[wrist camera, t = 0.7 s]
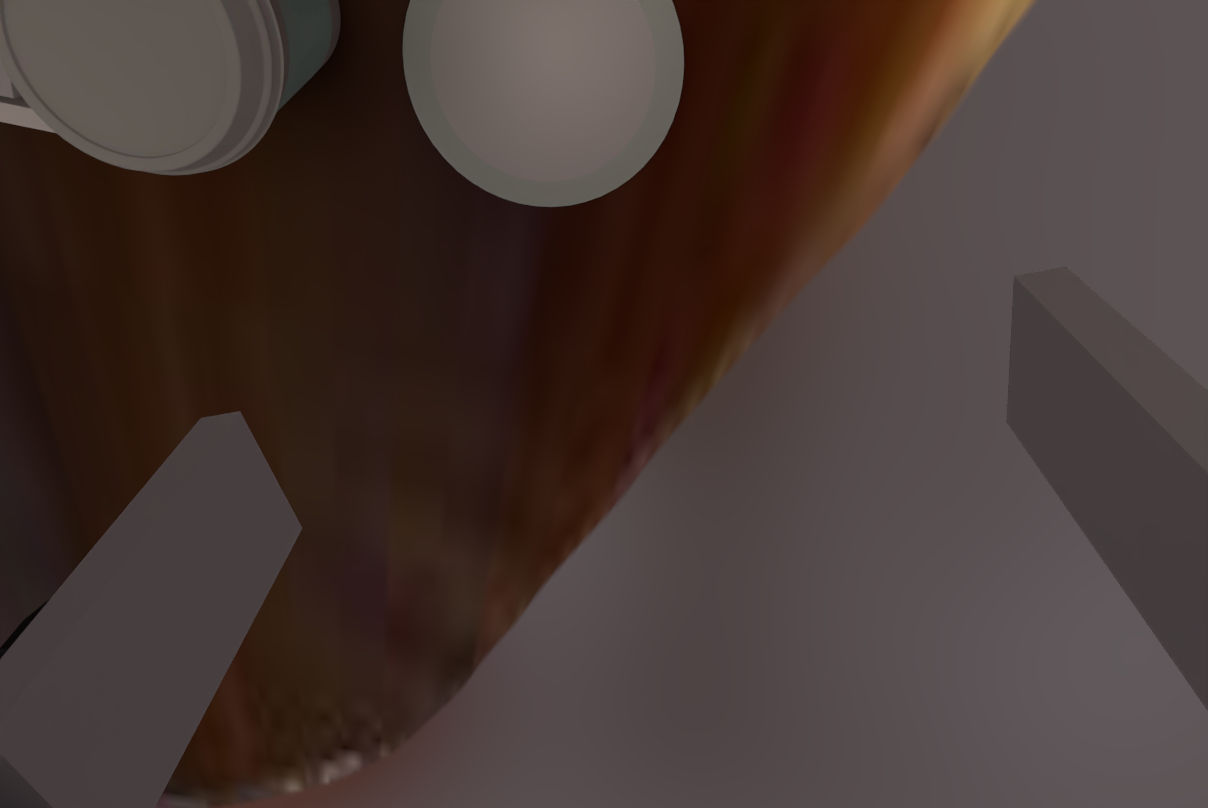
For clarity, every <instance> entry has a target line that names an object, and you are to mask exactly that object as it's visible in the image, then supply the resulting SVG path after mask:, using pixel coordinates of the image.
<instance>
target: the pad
mask: <svg viewBox="0 0 1208 808" xmlns="http://www.w3.org/2000/svg"><path fill="white" fill-rule="evenodd" d="M403 63H404V74H405V78H406V83H407V88H408V92H409V95H410V98H411V101H412V104H413V107H414V110H415V112H416V115H417V117H418V119H419V121H420V123H421V125H422V127H423V129H424V131H425V132H426V134H427V135H428V137H429V139H430V140H431V142H432V143H433V145H434V146H435V147H436V149H437V150H438V151H439V152H440V154H441V155H442V156H443V157H444V158H445V159H446V160H447V161H448V162H449V163H450V164H451V165H452V166H453V167H454V168H455V169H456V170H457V171H458V172H459V173H460V174H462V175H463V176H464V177H465V178H467V179H468V180H469V181H471V182H472V183H474V184H475V185H477V186H479V187H480V188H482V189H484V190H485V191H487V192H489V193H492V194H494V195H496V196H498V197H500V198H503V199H506V200H509V201H513V202H516V203H520V204H525V205H531V206H542V207H558V206H569V205H574V204H578V203H583V202H587V201H589V200H592V199H595V198H598V197H601V196H603V195H605V194H607V193H609V192H610V191H612V190H614V189H616V188H618V187H619V186H621V185H622V184H623V183H625V182H626V181H628V180H629V179H631V178H632V177H633V176H634V175H635V174H636V173H637V172H638V171H639V170H641V169H642V168H643V167H644V166H645V164H646V163H647V162H648V161H649V160H650V158H651V157H652V156H653V155H654V154H655V152H656V151H657V149H658V148H659V146H660V145H661V143H662V142H663V140H664V138H665V136H666V134H667V132H668V130H669V128H670V126H671V124H672V122H673V119H674V116H675V113H676V110H677V107H678V104H679V100H680V95H681V90H682V85H683V73H684V51H683V41H682V35H681V29H680V24H679V21H678V17H677V14H676V11H675V7H674V4H673V2H672V0H410V3H409V7H408V10H407V13H406V20H405V26H404V32H403Z"/></svg>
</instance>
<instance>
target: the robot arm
mask: <svg viewBox="0 0 1208 808" xmlns="http://www.w3.org/2000/svg"><path fill="white" fill-rule="evenodd" d="M1010 348H1011V349H1010V366H1009V385H1008V404H1007V423H1008V425H1009V426H1010V427H1011V429H1012V431H1013V432H1014V433H1015V435H1016V436H1017V438H1018V439H1019V441H1020V442H1021V443H1022V445H1023V446H1024V447H1025V449H1026V451H1027V452H1028V453H1029V455H1030V456H1031V458H1032V459H1033V461H1034V462H1035V463H1036V465H1037V466H1038V468H1039V469H1040V471H1041V472H1042V473H1043V475H1044V477H1045V478H1046V479H1047V481H1048V482H1049V484H1050V485H1051V487H1052V488H1053V489H1054V491H1055V492H1056V494H1057V495H1058V496H1059V498H1060V499H1061V501H1062V502H1063V504H1064V505H1065V507H1066V508H1067V509H1068V511H1069V512H1070V514H1071V515H1072V517H1073V518H1074V519H1075V521H1076V522H1077V524H1078V525H1079V527H1080V528H1081V530H1082V531H1083V532H1084V534H1085V535H1086V537H1087V538H1088V540H1089V541H1090V542H1091V544H1092V545H1093V547H1094V548H1095V550H1096V551H1097V553H1098V554H1099V555H1100V557H1101V558H1102V560H1103V561H1104V563H1105V564H1106V565H1107V567H1108V568H1109V570H1110V571H1111V573H1112V574H1113V576H1114V577H1115V578H1116V580H1117V581H1118V582H1119V584H1120V586H1121V587H1122V588H1123V590H1124V591H1125V593H1126V594H1127V596H1128V597H1129V598H1130V600H1131V601H1132V603H1133V604H1134V606H1135V607H1136V608H1137V610H1138V611H1139V613H1140V614H1141V615H1142V617H1143V619H1144V620H1145V621H1146V623H1147V624H1148V626H1149V627H1150V629H1151V630H1152V631H1153V633H1154V634H1155V636H1156V637H1157V639H1158V640H1159V641H1160V643H1161V644H1162V646H1163V647H1164V649H1165V650H1166V651H1167V653H1168V654H1169V656H1170V657H1171V659H1172V660H1173V662H1174V663H1175V665H1176V666H1177V667H1178V669H1179V670H1180V672H1181V673H1182V675H1183V676H1184V677H1185V679H1186V680H1187V682H1188V683H1189V685H1190V686H1191V687H1192V689H1193V690H1194V692H1195V693H1196V695H1197V696H1198V697H1199V699H1200V700H1201V702H1202V703H1203V705H1204V706H1205V708H1206V709H1207V710H1208V390H1207V389H1206V388H1204V387H1203V386H1202V385H1201V384H1200V383H1199V382H1198V381H1196V380H1195V379H1194V378H1193V377H1192V376H1191V375H1189V374H1188V373H1187V372H1186V371H1185V370H1184V369H1183V368H1182V367H1180V366H1179V365H1178V364H1177V363H1176V362H1175V361H1174V360H1172V359H1171V358H1170V357H1169V356H1168V355H1167V354H1166V353H1164V352H1163V351H1162V350H1161V349H1160V348H1159V347H1158V346H1156V345H1155V344H1154V343H1153V342H1152V341H1151V340H1149V339H1148V338H1147V337H1146V336H1145V335H1144V334H1143V333H1141V332H1140V331H1139V330H1138V329H1137V328H1136V327H1135V326H1133V325H1132V324H1131V323H1130V322H1129V321H1128V320H1127V319H1125V318H1124V317H1123V316H1122V315H1121V314H1120V313H1119V312H1117V311H1116V310H1115V309H1114V308H1113V307H1112V306H1111V305H1109V304H1108V303H1107V302H1106V301H1105V300H1103V298H1101V297H1100V296H1099V295H1098V294H1097V293H1096V292H1095V291H1093V290H1092V289H1091V288H1090V287H1089V286H1087V285H1086V284H1085V283H1084V282H1083V281H1082V280H1081V279H1080V278H1079V277H1077V276H1076V275H1075V274H1074V273H1073V272H1072V271H1070V270H1069V269H1068V268H1067V267H1063V268H1058V269H1052V270H1046V271H1041V272H1034V273H1029V274H1023V275H1017V276H1014V287H1013V307H1012V326H1011V346H1010ZM301 530H302V527H301V525H300V523H299V521H298V520H297V518H296V516H295V514H294V512H293V510H292V508H291V506H290V505H289V503H288V501H287V499H286V497H285V495H284V493H283V491H282V490H281V488H280V486H279V484H278V482H277V480H276V478H275V476H274V475H273V473H272V471H271V469H270V467H269V465H268V463H267V461H266V460H265V458H264V456H263V454H262V452H261V450H260V448H259V446H258V444H257V443H256V441H255V439H254V437H253V435H252V433H251V431H250V429H249V428H248V426H247V424H246V422H245V420H244V418H243V416H242V414H241V413H240V411H239V412H233V413H228V414H222V415H216V416H210V417H205V418H201V419H200V420H199V421H198V422H197V423H196V425H195V426H194V427H193V428H192V429H191V431H190V432H189V433H188V434H187V435H186V437H185V438H184V439H183V440H182V441H181V443H180V444H179V445H178V446H177V447H176V449H175V450H174V451H173V452H172V453H171V455H170V456H169V457H168V458H167V459H166V461H165V462H164V463H163V464H162V465H161V467H160V468H159V469H158V470H157V471H156V473H155V474H154V475H153V476H152V477H151V479H150V480H149V481H148V482H147V483H146V485H145V486H144V487H143V488H142V489H141V491H140V492H139V493H138V494H137V495H136V497H135V498H134V499H133V500H132V501H131V503H130V504H129V505H128V506H127V507H126V509H125V510H124V511H123V512H122V513H121V515H120V516H119V517H118V518H117V519H116V521H115V522H114V523H113V524H112V525H111V527H110V528H109V529H108V530H107V531H106V533H105V534H104V535H103V536H102V537H101V539H100V540H99V541H98V542H97V543H96V545H95V546H94V547H93V548H92V549H91V551H90V552H89V553H88V554H87V555H86V557H85V558H84V559H83V560H82V561H81V563H80V564H79V565H78V566H77V567H76V569H75V570H74V571H73V572H72V574H71V575H70V576H69V577H68V578H67V580H66V581H65V582H64V583H63V584H62V586H61V587H60V588H59V589H58V590H57V592H56V593H55V594H54V595H53V596H52V597H51V598H50V599H49V600H48V601H47V602H45V603H44V604H43V605H42V606H40V607H39V608H38V609H37V610H36V611H34V612H33V613H32V614H31V615H29V616H28V617H27V618H26V619H24V620H23V622H22V623H21V624H20V625H19V626H18V628H17V629H16V630H15V631H14V632H13V634H12V635H11V636H10V637H9V638H8V639H7V641H6V642H5V643H4V644H3V645H2V647H1V648H0V808H155V806H156V804H157V802H158V800H159V798H160V796H161V794H162V793H163V791H164V789H165V787H166V785H167V783H168V781H169V779H170V777H171V776H172V774H173V772H174V770H175V768H176V766H177V764H178V762H179V760H180V759H181V757H182V755H183V753H184V751H185V749H186V747H187V745H188V743H189V741H190V740H191V738H192V736H193V734H194V732H195V730H196V728H197V726H198V724H199V723H200V721H201V719H202V717H203V715H204V713H205V711H206V709H207V707H208V706H209V704H210V702H211V700H212V698H213V696H214V694H215V692H216V690H217V689H218V687H219V685H220V683H221V681H222V679H223V677H224V675H225V673H226V671H227V670H228V668H229V666H230V664H231V662H232V660H233V658H234V656H235V654H236V653H237V651H238V649H239V647H240V645H241V643H242V641H243V639H244V637H245V636H246V634H247V632H248V630H249V628H250V626H251V624H252V622H253V620H254V618H255V617H256V615H257V613H258V611H259V609H260V607H261V605H262V603H263V601H264V600H265V598H266V596H267V594H268V592H269V590H270V588H271V586H272V584H273V583H274V581H275V579H276V577H277V575H278V573H279V571H280V569H281V567H282V566H283V564H284V562H285V560H286V558H287V556H288V554H289V552H290V550H291V548H292V547H293V545H294V543H295V541H296V539H297V537H298V535H299V533H300V531H301Z"/></svg>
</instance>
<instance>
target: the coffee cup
mask: <svg viewBox="0 0 1208 808" xmlns="http://www.w3.org/2000/svg"><path fill="white" fill-rule="evenodd" d="M340 24H341V16H340V6H339V1H338V0H0V61H1V63H2V65H3V67H4V69H5V71H6V73H7V75H8V76H9V78H10V80H11V81H12V83H13V84H14V86H15V88H16V89H17V91H18V92H19V93H20V95H21V96H22V97H23V99H24V100H25V101H26V103H27V104H28V105H29V106H30V108H31V109H32V110H33V111H34V112H35V113H36V114H37V115H38V116H39V118H41V119H42V120H43V121H44V122H45V123H46V124H47V125H48V126H49V127H50V128H51V129H52V130H53V131H55V132H56V133H57V134H58V135H59V136H61V137H62V138H63V139H65V140H66V141H67V142H69V143H70V144H72V145H73V146H75V147H76V148H78V149H80V150H81V151H83V152H85V153H87V154H88V155H90V156H92V157H94V158H97V159H99V160H101V161H104V162H106V163H109V164H112V165H115V166H118V167H122V168H125V169H131V170H136V171H144V172H149V173H154V174H161V175H188V174H195V173H200V172H206V171H211V170H215V169H218V168H221V167H224V166H226V165H228V164H230V163H232V162H234V161H236V160H238V159H239V158H241V157H242V156H244V155H245V154H246V153H248V152H249V151H250V150H251V149H252V148H253V147H254V146H255V145H256V144H257V143H258V142H259V141H260V140H261V139H262V137H263V136H264V134H265V133H266V132H267V130H268V128H269V127H270V125H271V123H272V121H273V119H274V117H275V114H276V112H277V111H278V110H279V109H280V108H281V107H282V106H283V105H284V104H285V103H286V102H287V101H288V100H289V99H290V98H291V97H292V96H293V95H294V94H295V93H296V92H297V91H298V90H299V89H300V88H301V87H302V86H303V85H304V84H305V83H306V82H307V81H308V80H309V79H310V78H311V77H312V76H313V75H314V74H315V73H316V72H317V71H318V70H319V69H320V68H321V67H322V66H323V65H324V64H325V63H326V62H327V61H328V59H329V58H330V56H331V55H332V53H333V51H334V49H335V47H336V44H337V41H338V38H339V33H340Z"/></svg>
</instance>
